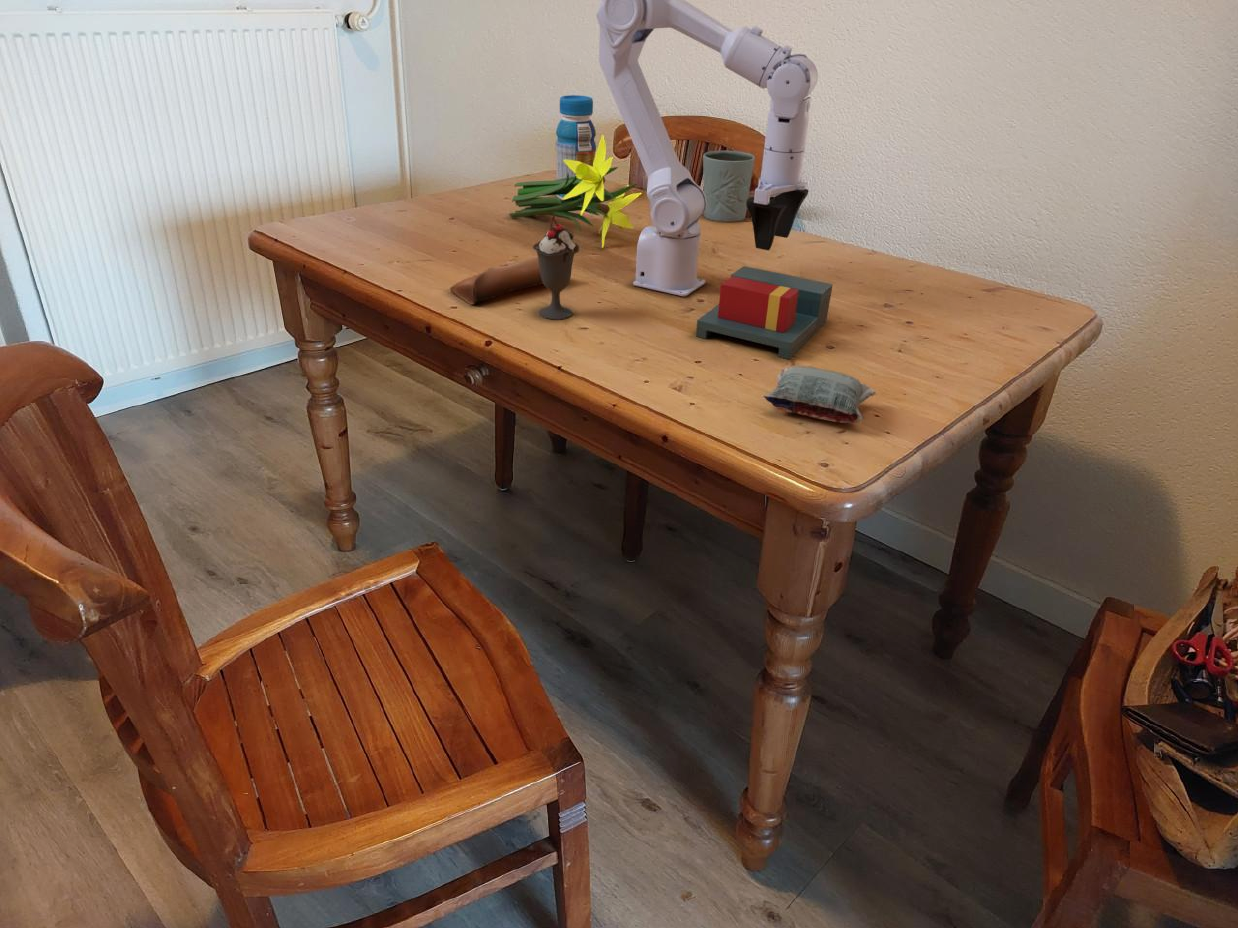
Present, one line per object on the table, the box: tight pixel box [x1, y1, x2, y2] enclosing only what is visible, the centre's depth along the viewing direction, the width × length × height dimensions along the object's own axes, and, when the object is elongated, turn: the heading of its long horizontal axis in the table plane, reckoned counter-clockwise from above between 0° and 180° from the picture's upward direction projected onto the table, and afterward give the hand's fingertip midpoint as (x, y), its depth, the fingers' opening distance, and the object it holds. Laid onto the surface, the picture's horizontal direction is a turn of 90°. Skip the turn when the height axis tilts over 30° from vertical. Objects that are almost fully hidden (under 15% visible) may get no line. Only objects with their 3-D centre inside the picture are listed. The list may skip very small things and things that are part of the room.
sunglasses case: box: [450, 257, 544, 306], centre depth 137 cm, size 18×7×7 cm, turn 132°
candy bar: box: [718, 276, 799, 333], centre depth 122 cm, size 10×4×5 cm, turn 60°
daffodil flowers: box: [508, 134, 642, 249], centre depth 160 cm, size 17×15×35 cm
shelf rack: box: [695, 265, 833, 360], centre depth 125 cm, size 14×16×6 cm
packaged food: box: [763, 365, 877, 424], centre depth 104 cm, size 9×12×5 cm
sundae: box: [531, 216, 580, 321], centre depth 125 cm, size 7×7×15 cm
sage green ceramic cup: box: [702, 150, 756, 223], centre depth 175 cm, size 10×10×12 cm
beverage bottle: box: [554, 94, 597, 200], centre depth 181 cm, size 8×8×20 cm
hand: (772, 242), depth 132 cm, fingers open, 7 cm apart
